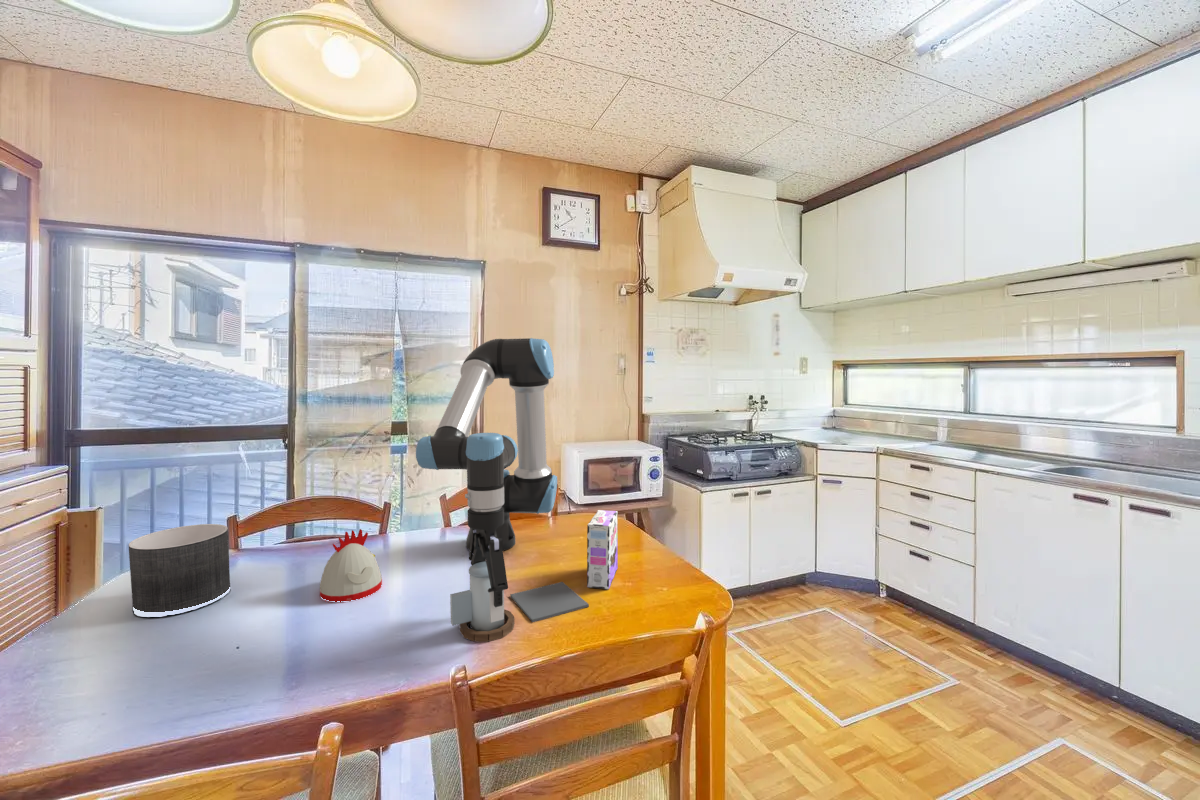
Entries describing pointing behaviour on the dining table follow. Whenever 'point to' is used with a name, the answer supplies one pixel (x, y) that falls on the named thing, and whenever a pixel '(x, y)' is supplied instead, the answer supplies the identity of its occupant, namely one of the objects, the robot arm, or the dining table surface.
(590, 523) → the candy box
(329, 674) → the dining table surface
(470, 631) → the brown segmented ring
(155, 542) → the planter
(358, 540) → the white chicken figure
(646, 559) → the dining table surface
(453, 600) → the white cylindrical canister
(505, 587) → the robot arm
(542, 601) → the mat
